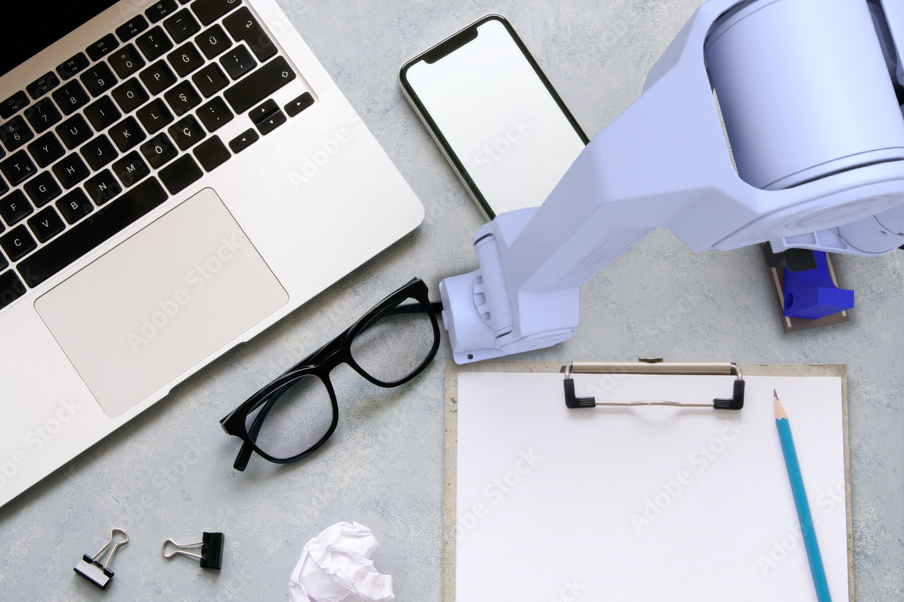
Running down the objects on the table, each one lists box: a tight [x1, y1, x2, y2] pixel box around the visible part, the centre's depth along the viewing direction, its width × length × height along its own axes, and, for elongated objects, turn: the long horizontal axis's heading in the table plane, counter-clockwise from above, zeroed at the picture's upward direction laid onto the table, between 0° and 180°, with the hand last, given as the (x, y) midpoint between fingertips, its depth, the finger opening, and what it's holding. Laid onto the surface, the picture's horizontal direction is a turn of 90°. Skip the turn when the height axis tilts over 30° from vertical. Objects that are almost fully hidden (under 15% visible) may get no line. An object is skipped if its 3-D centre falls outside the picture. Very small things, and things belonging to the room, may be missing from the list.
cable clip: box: [783, 250, 855, 319], centre depth 67 cm, size 12×4×6 cm, turn 174°
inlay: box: [759, 242, 851, 334], centre depth 70 cm, size 6×14×1 cm, turn 11°
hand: (809, 248), depth 68 cm, fingers open, 7 cm apart
